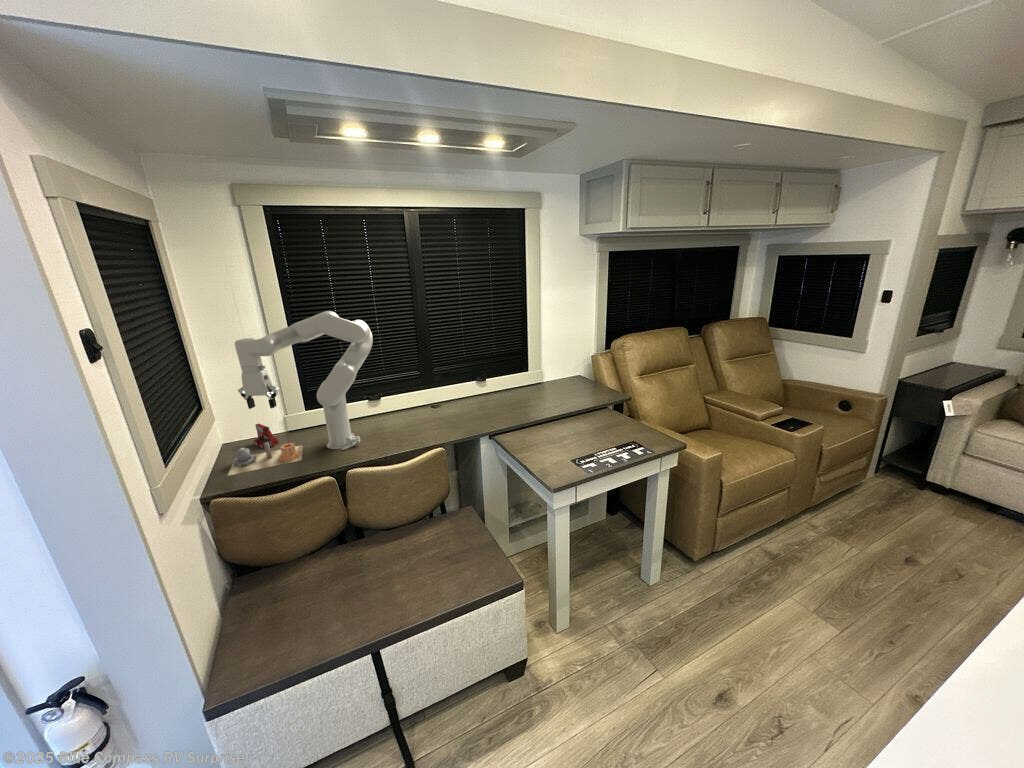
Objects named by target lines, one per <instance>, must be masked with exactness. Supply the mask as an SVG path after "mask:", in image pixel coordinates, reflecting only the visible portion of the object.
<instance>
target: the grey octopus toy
mask: <svg viewBox="0 0 1024 768" xmlns="http://www.w3.org/2000/svg"><path fill="white" fill-rule="evenodd" d="M234 454H235V458H237V459H235V458H234V460H233V462H234V463H233V462H232V464H233V465H234V467H236V466H238V468H241V467H243V466H250V464H252V463H255V462H256V460H257V459H256V456H251V455H252V453H251V450H250V448H249V447H246V448H245V447H241V448H238V450H235V451H234Z"/></svg>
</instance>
